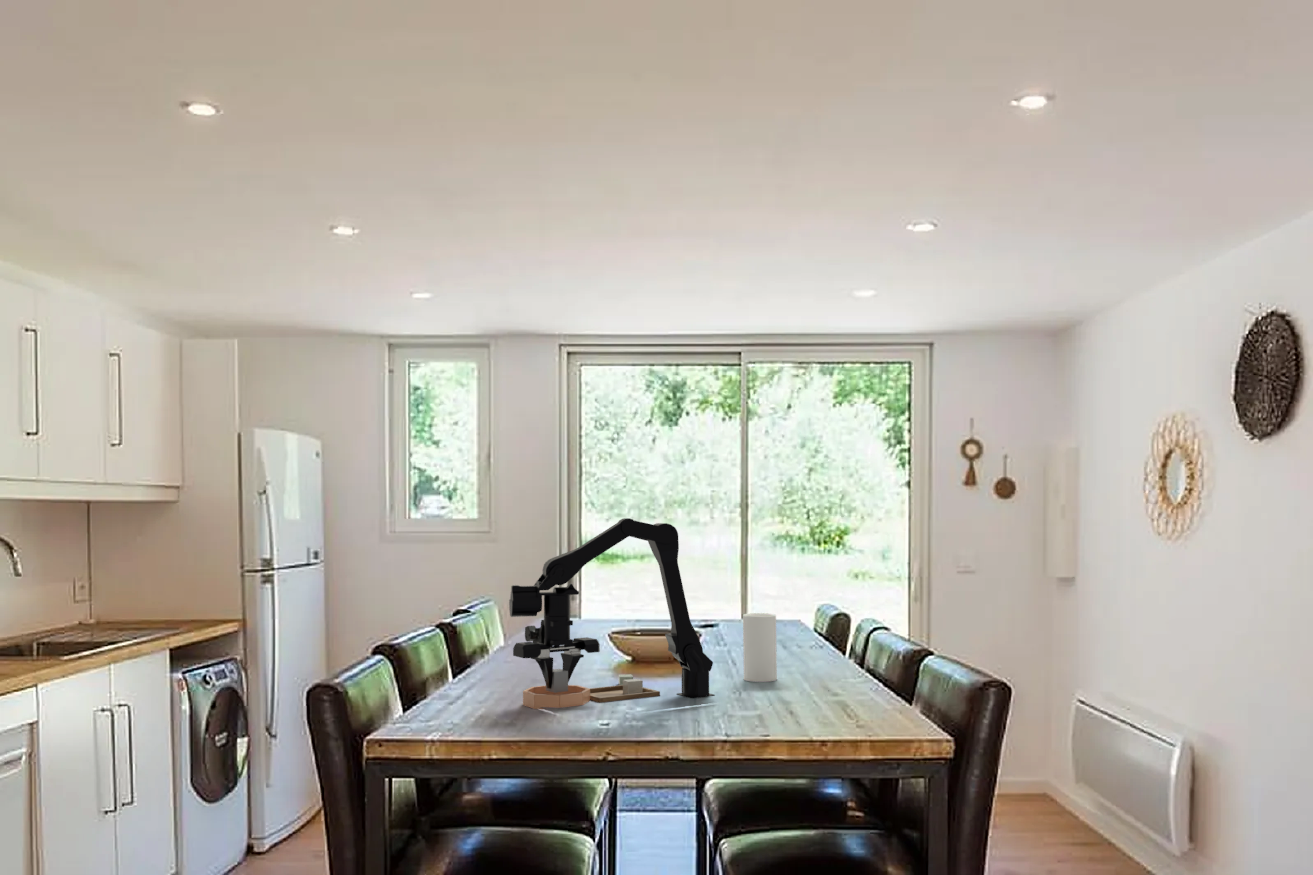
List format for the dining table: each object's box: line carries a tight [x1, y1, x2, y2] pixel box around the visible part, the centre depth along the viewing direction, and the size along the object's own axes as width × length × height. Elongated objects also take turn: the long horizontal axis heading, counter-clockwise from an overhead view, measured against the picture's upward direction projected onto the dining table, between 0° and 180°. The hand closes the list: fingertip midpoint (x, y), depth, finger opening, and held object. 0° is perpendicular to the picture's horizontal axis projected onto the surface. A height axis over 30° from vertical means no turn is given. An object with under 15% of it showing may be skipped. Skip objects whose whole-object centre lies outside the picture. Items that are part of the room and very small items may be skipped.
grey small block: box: [623, 678, 644, 694], centre depth 243 cm, size 4×3×3 cm
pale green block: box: [618, 674, 634, 685], centre depth 256 cm, size 3×4×3 cm
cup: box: [742, 612, 778, 683], centre depth 267 cm, size 8×8×16 cm
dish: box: [522, 684, 591, 710], centre depth 234 cm, size 14×14×3 cm
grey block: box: [545, 668, 569, 693], centre depth 234 cm, size 4×3×4 cm
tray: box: [589, 684, 661, 703], centre depth 242 cm, size 13×16×1 cm
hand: (556, 687), depth 234 cm, fingers closed on grey block, 3 cm apart
